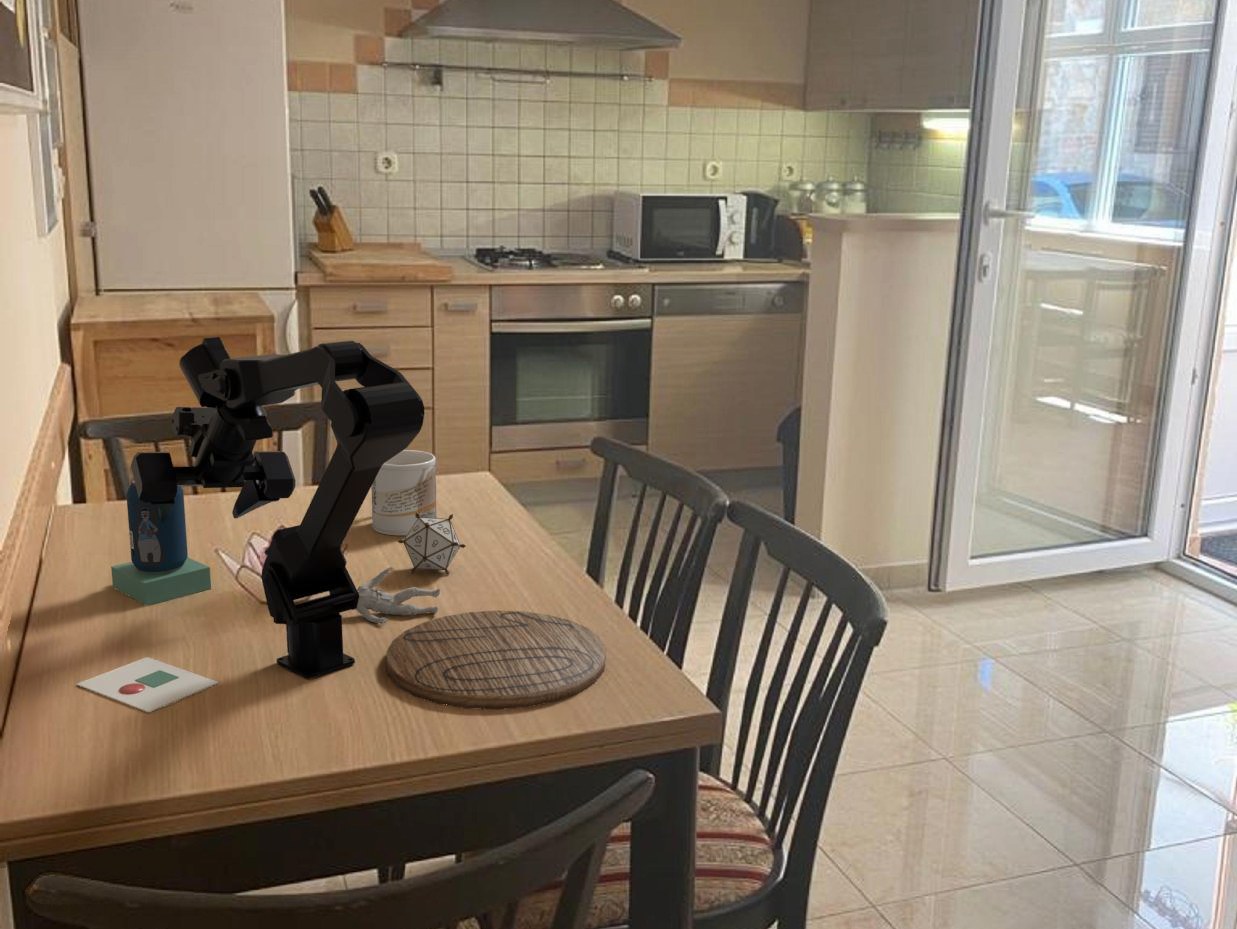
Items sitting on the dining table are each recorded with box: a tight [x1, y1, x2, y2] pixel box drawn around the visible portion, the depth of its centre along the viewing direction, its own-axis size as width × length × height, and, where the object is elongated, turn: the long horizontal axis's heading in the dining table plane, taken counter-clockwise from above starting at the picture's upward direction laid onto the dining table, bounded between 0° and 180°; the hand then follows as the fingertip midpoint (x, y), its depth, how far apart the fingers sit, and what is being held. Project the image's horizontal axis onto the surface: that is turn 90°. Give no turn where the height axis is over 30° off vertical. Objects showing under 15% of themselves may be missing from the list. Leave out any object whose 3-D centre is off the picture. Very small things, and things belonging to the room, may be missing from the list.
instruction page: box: [76, 656, 220, 713], centre depth 136 cm, size 12×9×1 cm
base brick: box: [111, 557, 212, 606], centre depth 165 cm, size 10×9×3 cm
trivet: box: [386, 610, 607, 710], centre depth 144 cm, size 25×25×2 cm
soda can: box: [126, 477, 189, 574], centre depth 163 cm, size 7×7×12 cm
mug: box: [370, 449, 437, 537], centre depth 194 cm, size 10×12×11 cm
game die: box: [397, 513, 467, 576], centre depth 173 cm, size 9×8×10 cm
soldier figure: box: [355, 566, 441, 626], centre depth 157 cm, size 8×5×12 cm
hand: (198, 516), depth 158 cm, fingers open, 9 cm apart
